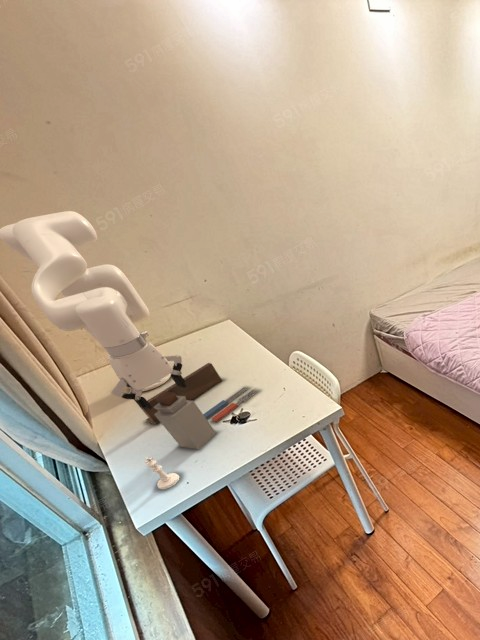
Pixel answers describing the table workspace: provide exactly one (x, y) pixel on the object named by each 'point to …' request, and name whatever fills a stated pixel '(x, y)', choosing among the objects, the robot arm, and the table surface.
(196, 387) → the shelf
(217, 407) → the knife
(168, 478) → the chess piece
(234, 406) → the fork
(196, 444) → the perfume bottle
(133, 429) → the table surface
